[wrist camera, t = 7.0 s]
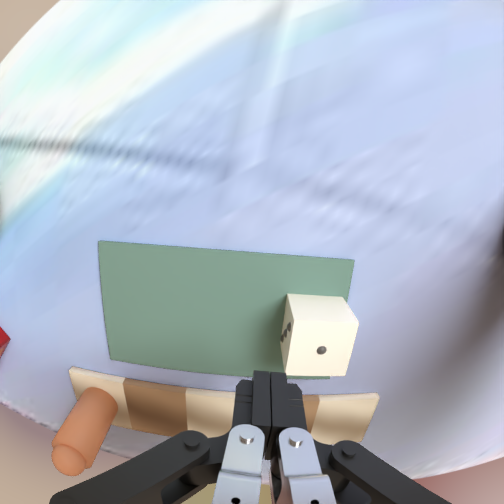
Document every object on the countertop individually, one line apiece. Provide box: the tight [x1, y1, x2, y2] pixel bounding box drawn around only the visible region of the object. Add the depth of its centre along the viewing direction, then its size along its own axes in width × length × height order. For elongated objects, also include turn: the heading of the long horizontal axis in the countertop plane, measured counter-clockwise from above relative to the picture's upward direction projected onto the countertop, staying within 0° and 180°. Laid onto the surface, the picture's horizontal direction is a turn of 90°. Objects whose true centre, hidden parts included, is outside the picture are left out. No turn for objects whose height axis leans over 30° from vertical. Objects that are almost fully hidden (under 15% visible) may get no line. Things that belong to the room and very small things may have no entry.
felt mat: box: [98, 241, 354, 379], centre depth 22 cm, size 10×18×1 cm, turn 86°
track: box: [69, 366, 379, 444], centre depth 25 cm, size 6×28×1 cm, turn 86°
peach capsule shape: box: [52, 387, 118, 476], centre depth 20 cm, size 4×4×9 cm
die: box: [280, 294, 359, 376], centre depth 20 cm, size 4×4×4 cm
